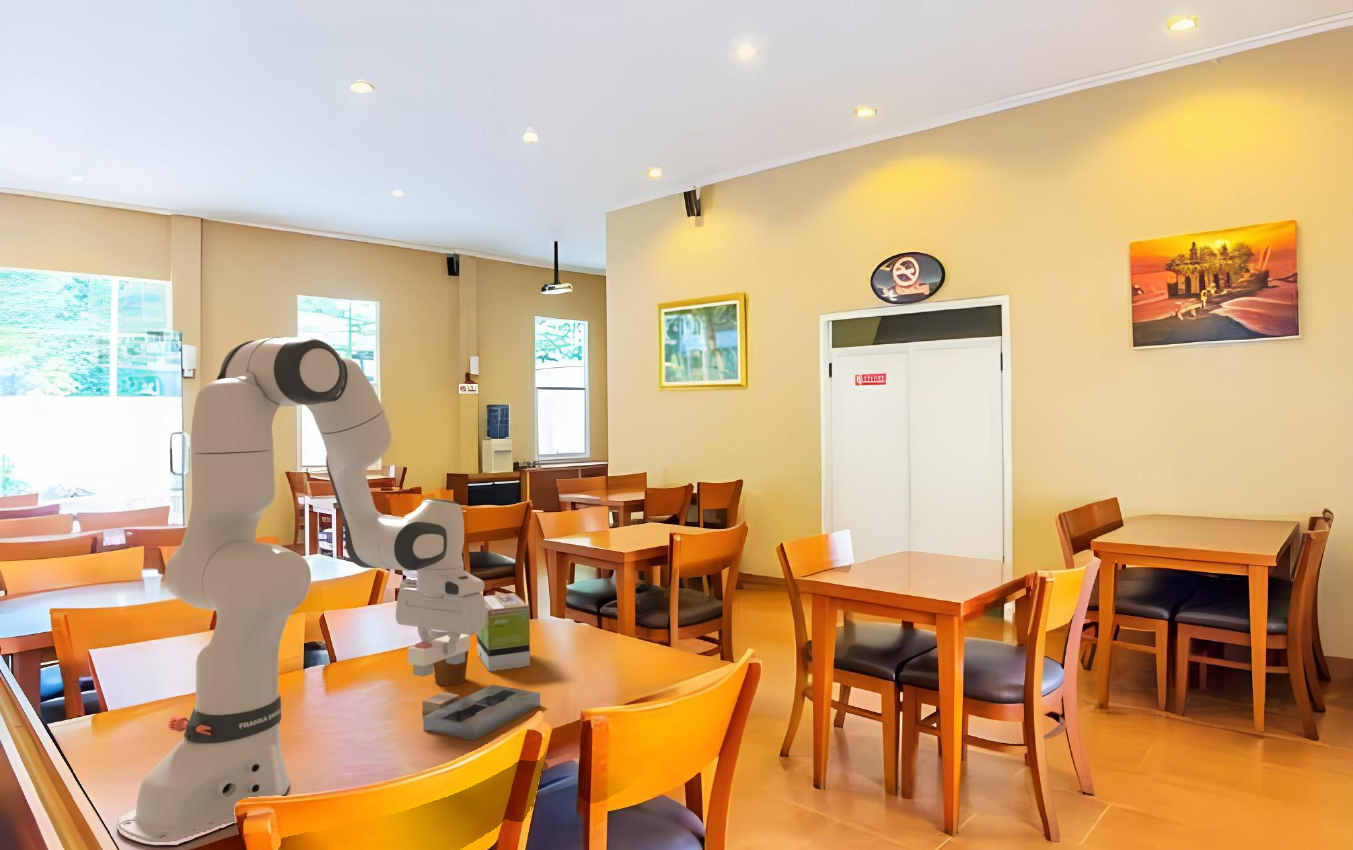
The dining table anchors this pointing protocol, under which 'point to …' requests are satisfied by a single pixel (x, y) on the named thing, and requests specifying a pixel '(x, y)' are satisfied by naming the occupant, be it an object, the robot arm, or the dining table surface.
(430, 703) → the tan rectangular block
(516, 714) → the keyhole plate
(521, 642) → the tea box
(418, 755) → the dining table surface
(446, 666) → the disposable coffee cup
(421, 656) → the white key block
